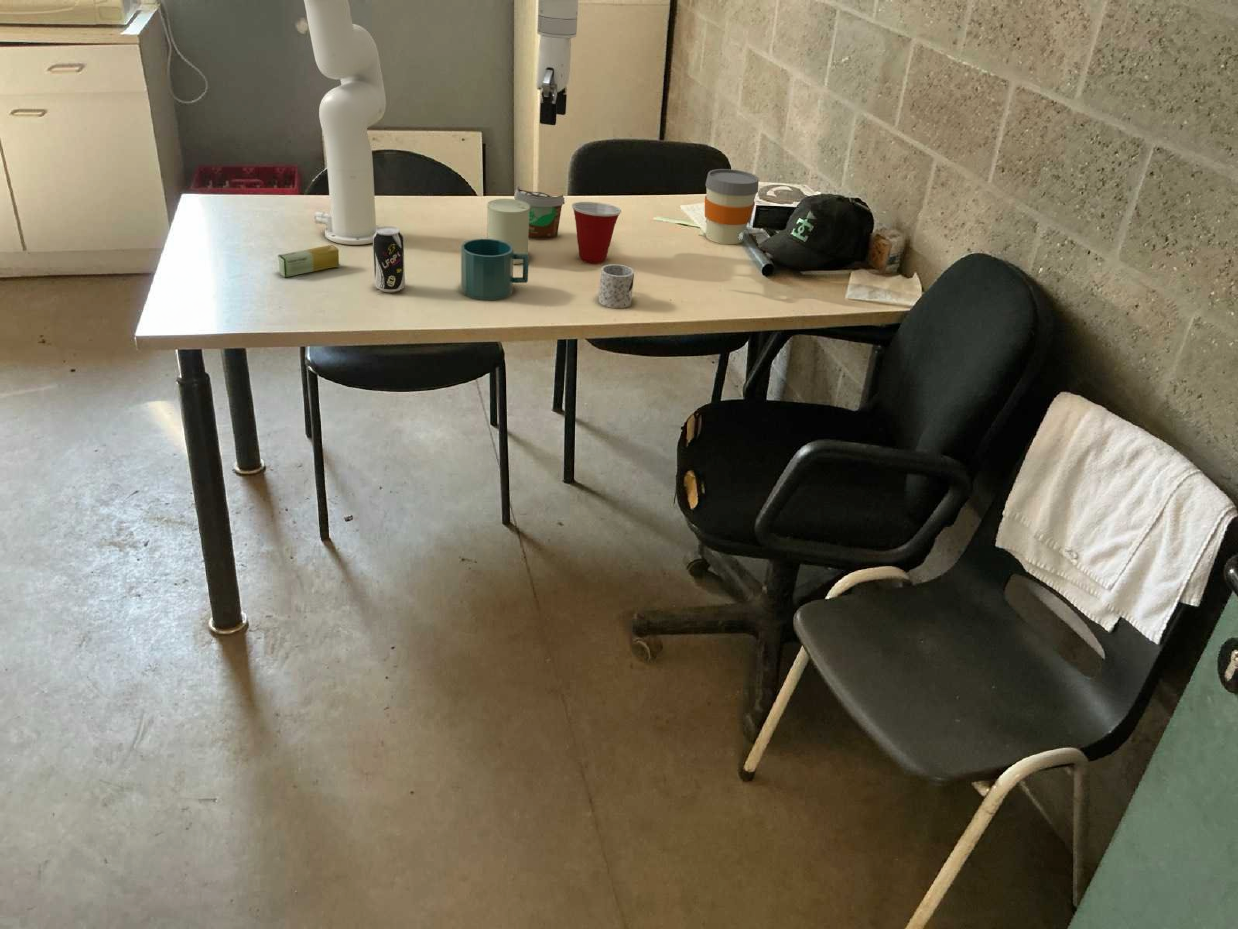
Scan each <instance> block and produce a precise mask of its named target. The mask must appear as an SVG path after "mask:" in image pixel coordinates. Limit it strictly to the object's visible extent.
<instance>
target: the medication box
mask: <svg viewBox="0 0 1238 929" xmlns="http://www.w3.org/2000/svg"><path fill="white" fill-rule="evenodd" d="M339 253H340V250H339V248H338V247H337V246H335V245H334V244H329V245H324V246H319V247H314V248H309V249H308V248H307V249H304V250H298V251H293V252H287V253H283V254H278V255H277V258H278V273H279V275H280V276H281V277H283V278H284V279H285V278H288V277H292V276H293V277H294V276H296V275H302V274H307V273H312V272H317V271H318V272H319V271H321V270H326V269H327V270H328V269H332V268H336V267H340V257H339V256H340V254H339Z"/></svg>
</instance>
